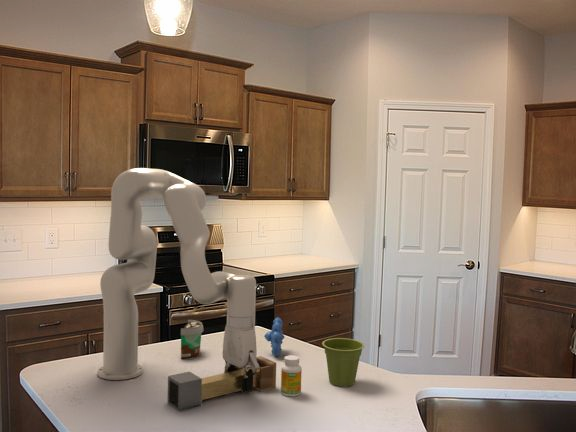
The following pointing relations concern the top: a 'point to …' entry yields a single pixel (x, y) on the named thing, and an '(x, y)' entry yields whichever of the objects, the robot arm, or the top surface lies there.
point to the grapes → (275, 336)
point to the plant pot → (342, 360)
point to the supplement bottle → (291, 376)
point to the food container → (191, 339)
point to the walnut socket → (266, 374)
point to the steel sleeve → (184, 391)
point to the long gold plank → (225, 383)
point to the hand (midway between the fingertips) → (239, 386)
